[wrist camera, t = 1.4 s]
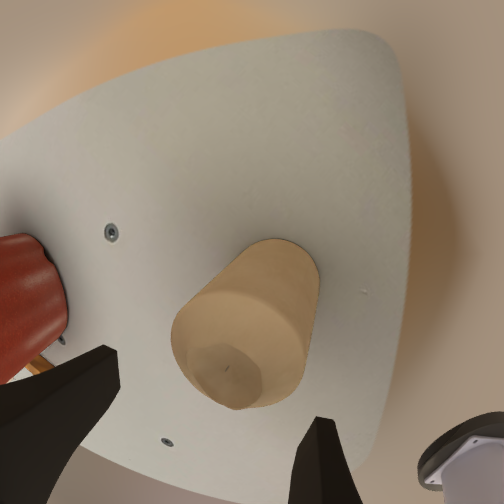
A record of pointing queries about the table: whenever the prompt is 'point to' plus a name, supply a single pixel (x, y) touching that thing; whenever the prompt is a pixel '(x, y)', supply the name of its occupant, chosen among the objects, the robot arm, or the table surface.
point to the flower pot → (27, 303)
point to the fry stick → (38, 365)
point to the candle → (250, 327)
